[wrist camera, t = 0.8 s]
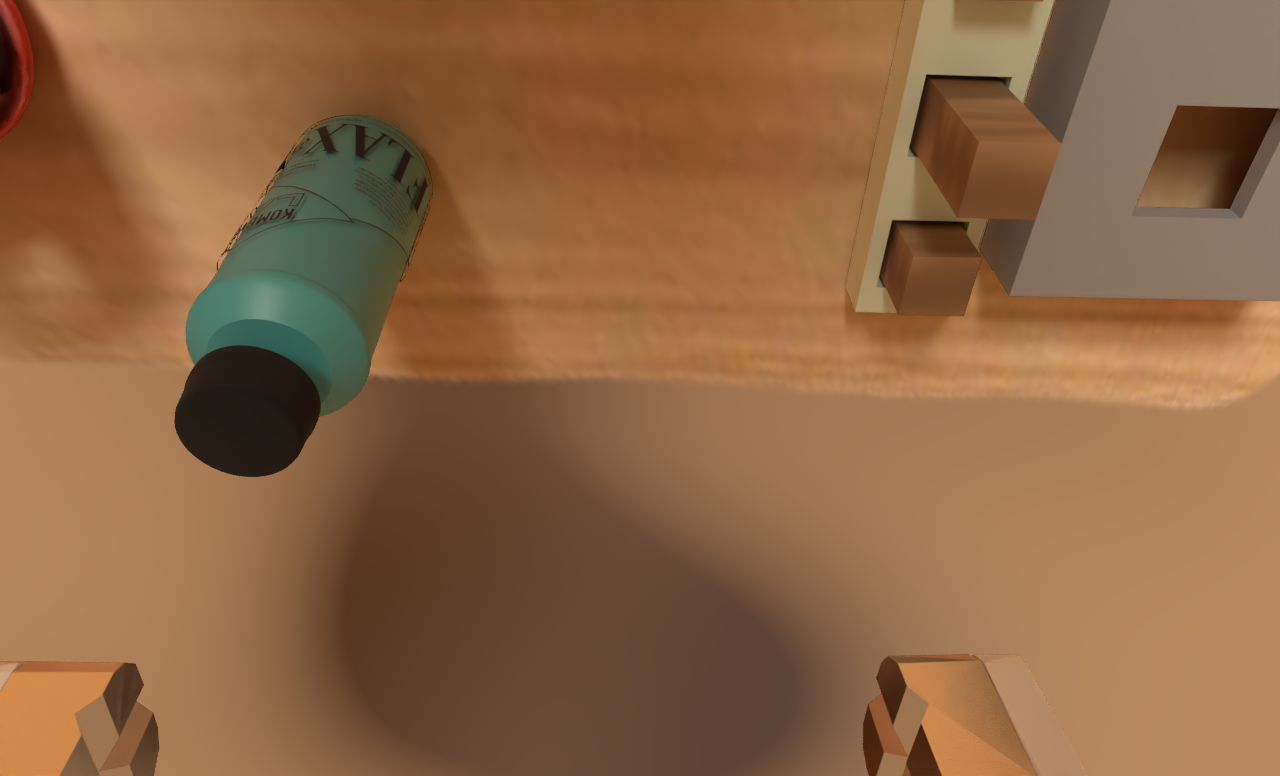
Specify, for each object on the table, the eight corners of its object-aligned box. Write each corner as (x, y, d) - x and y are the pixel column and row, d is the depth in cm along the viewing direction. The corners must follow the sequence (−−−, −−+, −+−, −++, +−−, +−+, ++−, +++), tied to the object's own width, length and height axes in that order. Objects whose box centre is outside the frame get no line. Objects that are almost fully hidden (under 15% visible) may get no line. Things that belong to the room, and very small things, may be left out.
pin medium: (884, 201, 46) (913, 256, 42) (946, 203, 46) (981, 258, 42) (871, 257, 48) (898, 315, 44) (931, 258, 48) (963, 316, 44)
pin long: (915, 61, 42) (979, 141, 34) (984, 63, 42) (1061, 144, 35) (900, 129, 44) (957, 218, 36) (966, 131, 44) (1035, 219, 37)
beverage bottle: (466, 158, 44) (388, 431, 28) (388, 248, 47) (276, 540, 31) (349, 65, 41) (189, 311, 25) (273, 166, 44) (86, 443, 28)
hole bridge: (1067, -38, 39) (1113, -8, 36) (1381, -26, 40) (1456, 4, 36) (979, 249, 48) (1009, 296, 44) (1238, 255, 48) (1287, 301, 45)
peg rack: (939, -163, 36) (958, -153, 34) (1072, -157, 36) (1099, -147, 34) (845, 286, 49) (855, 312, 47) (944, 288, 49) (958, 313, 47)
